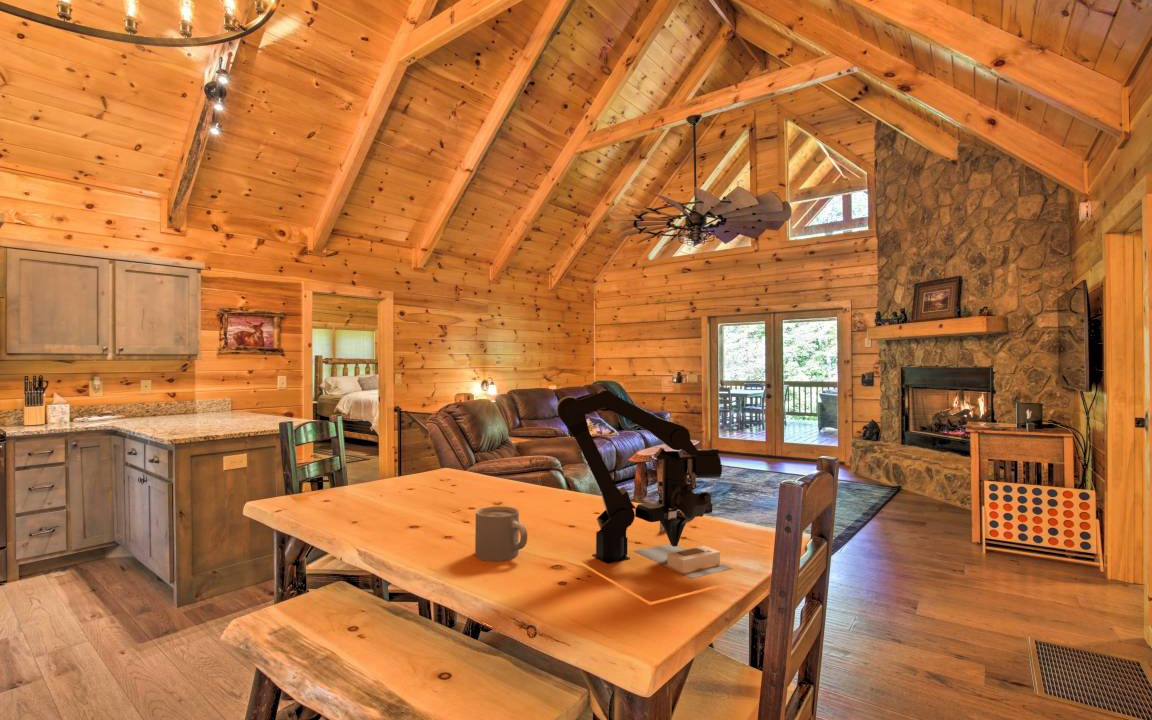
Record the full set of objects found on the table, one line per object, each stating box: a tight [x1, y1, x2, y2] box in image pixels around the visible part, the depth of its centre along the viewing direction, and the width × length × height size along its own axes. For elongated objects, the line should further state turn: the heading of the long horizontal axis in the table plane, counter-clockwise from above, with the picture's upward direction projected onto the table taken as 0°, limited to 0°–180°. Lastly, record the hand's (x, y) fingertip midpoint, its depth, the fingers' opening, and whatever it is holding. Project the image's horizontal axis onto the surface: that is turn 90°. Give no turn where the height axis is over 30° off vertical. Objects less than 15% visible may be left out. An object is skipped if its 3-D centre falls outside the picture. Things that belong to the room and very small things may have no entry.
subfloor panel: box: [633, 543, 733, 579], centre depth 128 cm, size 12×20×1 cm, turn 31°
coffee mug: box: [474, 505, 528, 563], centre depth 131 cm, size 13×10×10 cm
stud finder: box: [667, 545, 721, 572], centre depth 125 cm, size 11×5×3 cm, turn 122°
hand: (674, 546), depth 130 cm, fingers closed
